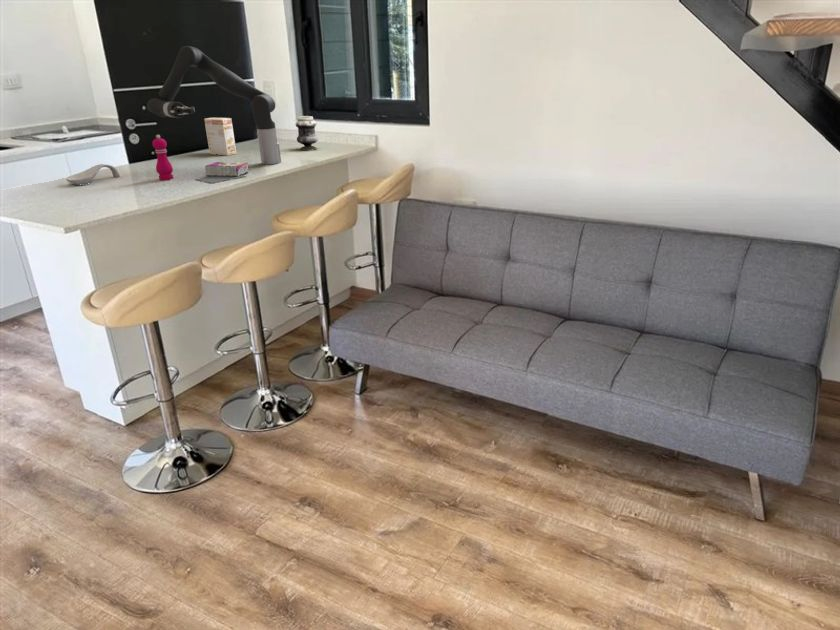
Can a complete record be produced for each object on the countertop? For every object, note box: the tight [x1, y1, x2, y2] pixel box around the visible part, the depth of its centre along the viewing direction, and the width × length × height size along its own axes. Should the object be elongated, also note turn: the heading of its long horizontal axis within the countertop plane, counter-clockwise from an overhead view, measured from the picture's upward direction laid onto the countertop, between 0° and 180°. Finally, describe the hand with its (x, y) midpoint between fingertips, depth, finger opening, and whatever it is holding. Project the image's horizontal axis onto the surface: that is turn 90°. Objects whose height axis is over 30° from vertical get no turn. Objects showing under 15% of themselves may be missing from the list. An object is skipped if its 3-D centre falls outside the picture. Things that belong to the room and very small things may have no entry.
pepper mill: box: [152, 134, 174, 181], centre depth 283 cm, size 7×7×20 cm
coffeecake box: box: [203, 117, 237, 156], centre depth 346 cm, size 15×7×20 cm, turn 58°
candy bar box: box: [204, 161, 250, 177], centre depth 291 cm, size 11×5×16 cm
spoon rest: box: [65, 163, 121, 186], centre depth 286 cm, size 24×12×7 cm, turn 149°
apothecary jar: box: [295, 115, 319, 151], centre depth 353 cm, size 12×12×18 cm
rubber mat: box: [194, 174, 247, 184], centre depth 284 cm, size 18×14×1 cm
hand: (191, 111), depth 293 cm, fingers closed
